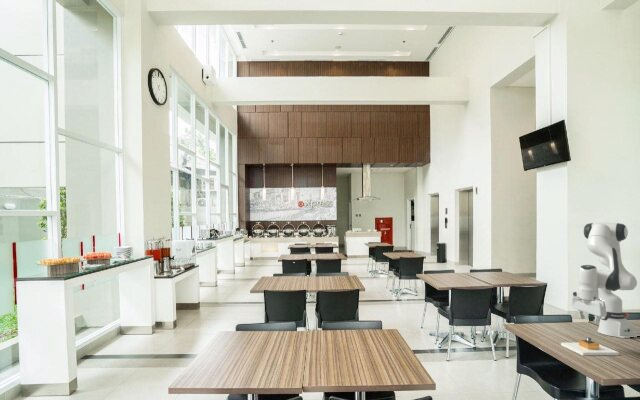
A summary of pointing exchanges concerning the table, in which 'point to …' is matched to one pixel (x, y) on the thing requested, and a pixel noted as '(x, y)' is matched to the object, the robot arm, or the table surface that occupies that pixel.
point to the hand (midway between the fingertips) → (588, 321)
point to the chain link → (588, 344)
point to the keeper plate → (584, 351)
